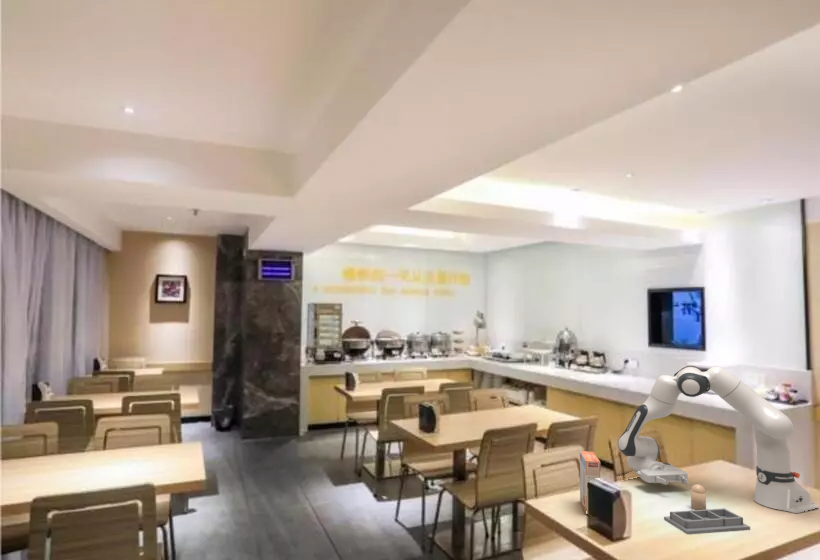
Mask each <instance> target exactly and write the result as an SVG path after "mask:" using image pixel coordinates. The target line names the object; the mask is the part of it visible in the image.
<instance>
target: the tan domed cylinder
mask: <svg viewBox="0 0 820 560" xmlns="http://www.w3.org/2000/svg"><path fill="white" fill-rule="evenodd" d="M706 493H707V492H706V489H705V487H704V486H702V485H701V484H698V483H696V484H693V485H692V486H691V487H690V508H691V509H692V510H707V494H706Z"/></svg>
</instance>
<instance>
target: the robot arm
mask: <svg viewBox="0 0 820 560" xmlns="http://www.w3.org/2000/svg"><path fill="white" fill-rule="evenodd" d="M709 391H711V392H713V393H714V394H716V395H717V396H718V397H719V398H721V399H722V400H723V401H724V402H726V403H727V404H728V405H729V406H730V407H731V408H732V409H734V410H735V411H737V412H738V413H739V414H741V416H742V417H744V418H745V419H746V420H748V421H749V422H750V423H751V424H752V425H753V431H754V432H753V433H754V438H755V439H754V440H755V443H756V459H757V460H756V461H757V466H755V467H756V469H755V471H756V474H755V475H756V477H757V478H756V481H755V491H754V493H753V496H754V497H753V500H754V502H756V503H757V504H759V505H762V506H764V507H767V508H770V509H775V510H780V511H784V512H788V513H792V514H799V513H805V512H809V511H808V510H810V511H812V510H811V509H815V508H819V505H818V504H816V503H815V502H813V501H811V495H810V493H809V491H808V490H807V489H806V488H804V487H803V486H802V485H801V484H799V482H797V481H796V480H795V478H797V479H800V478H801V474H800V473H799V472H795V471H791V454H790V453H791V452H790V450H789V445H788V441H787V440H788V439H790V438H791V437H792V436H793V434H794V432H795V428H794V424H793V422H792V421H791V419H790V417H788V416H787V415H786V414H785V413H783V412H782V411H781V410H780V409H779V408H777V406H774V405H773V404H772V403H771V402H769V401H768V400H766V399H765V398H764V397H763V396H761V395H760V394H758V393H757V392H756V391H755V390H753V389H752V388H751V387H750V386H749V385H748V384H746V383H745V382H744V381H742V380H741V379H739V377H737V376H736V375H735V374H733V373H731V372H729V371H728V370H727V369H725V368H723V367H720V366H712V367H710V368H709V369H707V370H706V371H702V369H701V368H699V367H698V366H696V365H687V366H684V367H682V368H681V369H679V370H678V371H676V372H675V373H674V375H673V376H672V375H668V374H662V375H659V376H658V378H656V381H655V382H654V384H653V385H652V388H651V391H650V393H649V395H648V397H647V399H646V400H645V401H644V402H643V403H642V404H640V405H639V406H638V407H637V408H636V410H635V411H634V413H633V415H632V417H631V419H630V420H629V422H628V424H627V426H626V427H625V430H624V431H623V433H621V435H620V436H619V438H618V440H617V447H618V449H619V450H620V453H622V455H624V456H625V457H626V458H627V459H626V463H627V464H628V466H629V467H630V469H631V470H633V471H634V472H635V473H636V474H635V475H637V476H639V478H640V479H641V480H642V481H644V482H646V483H648V484H658V483H659V484H662V485H669V483H677V482H678V483H679V482H681V484H688V477H689V476H688V472H686V471H685V470H682V469H681V468H679V467H676V466H674V465H673V464H672V463H669V462H668V463H667V462H661V461H658V458H659V455H660V446H659V444H658V442H657V441H656V439H655V438H654V437H651V436H644V435H639V434H640V432H641V430H642V429H643V428H644V425H646V423H648V422H650V421H652V420H657V419H662V418H665V417H668V416H670V415H671V414H672V412H673V411H674V409H675V406H676V404H677V401H678V398H679V396H680V395H681V394H683V396H686V397H689V398H690V397H691V398H696V397H699V396H701V395H702V394H706V393H708V392H709ZM815 510H816V509H815ZM804 511H805V512H804Z"/></svg>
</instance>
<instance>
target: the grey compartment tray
mask: <svg viewBox="0 0 820 560" xmlns="http://www.w3.org/2000/svg"><path fill="white" fill-rule="evenodd" d="M663 520H664V521H666V522H667V523H669V524H670V525H672V526H674V528H677V529H678V530H680V531H681V532H683V533H685V534H686V535H693V534H708V533H709V534H710V533H721V532H735V531H736V532H738V531H749V530H751V526H749V525H748V524H746V523H745V522H744V518H743V517H742V516H740V515H738V514H736V513H734V512H732V511H731V510H729V509H727V508H712V509H711V508H710V509H708V508H706V510H693V509H692V510H680V511H679V510H678V511H676V510H675V511H669V516H664V517H663Z"/></svg>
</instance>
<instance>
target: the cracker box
mask: <svg viewBox="0 0 820 560" xmlns="http://www.w3.org/2000/svg"><path fill="white" fill-rule="evenodd" d="M579 463H580V464H579V471H580V473H579V474H580V476H579V478H580V479H579V480H580V481H579V484H580V485H579V487H580V488H579V493H580V494H579V496H580V497H579V498H580V499H579V501H581V502H580V504H581V507H582V506H583V507H582V509H583V508H584V509H583V512H584V513H586V511H587V483H588V481H590V480H592V479H595V478H600V479H601V461H600V459H599V458H598V456H597V455H596V453H595V452H594V451H585V450H584V451H583V450H580V452H579Z"/></svg>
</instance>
